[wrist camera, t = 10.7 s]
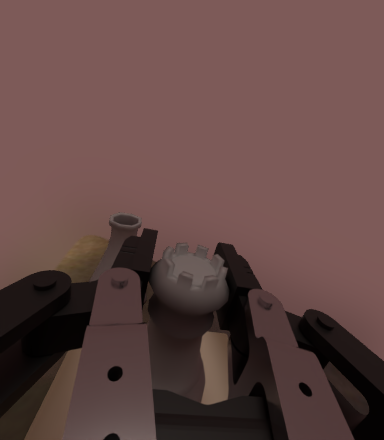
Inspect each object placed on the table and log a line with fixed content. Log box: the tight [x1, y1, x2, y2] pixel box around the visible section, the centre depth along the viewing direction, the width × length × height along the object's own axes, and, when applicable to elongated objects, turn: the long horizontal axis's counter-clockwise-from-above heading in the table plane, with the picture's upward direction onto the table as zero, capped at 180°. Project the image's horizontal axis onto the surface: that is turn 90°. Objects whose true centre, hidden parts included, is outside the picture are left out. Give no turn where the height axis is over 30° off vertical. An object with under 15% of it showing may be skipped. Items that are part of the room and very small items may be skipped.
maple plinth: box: [24, 332, 229, 440], centre depth 13 cm, size 12×12×4 cm
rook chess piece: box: [147, 243, 230, 403], centre depth 9 cm, size 4×4×8 cm
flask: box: [89, 213, 146, 303], centre depth 23 cm, size 7×7×10 cm
